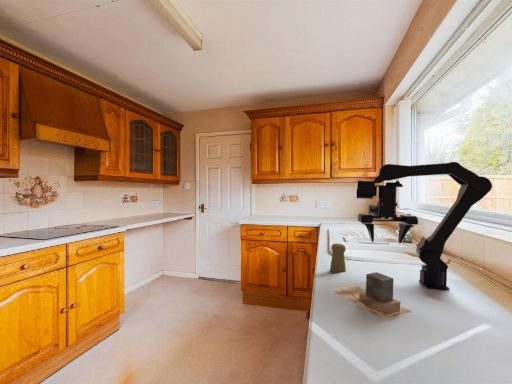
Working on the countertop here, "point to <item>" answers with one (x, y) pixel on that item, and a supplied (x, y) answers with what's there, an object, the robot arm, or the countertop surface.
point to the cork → (338, 259)
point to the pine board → (353, 295)
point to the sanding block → (379, 295)
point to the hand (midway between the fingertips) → (385, 242)
